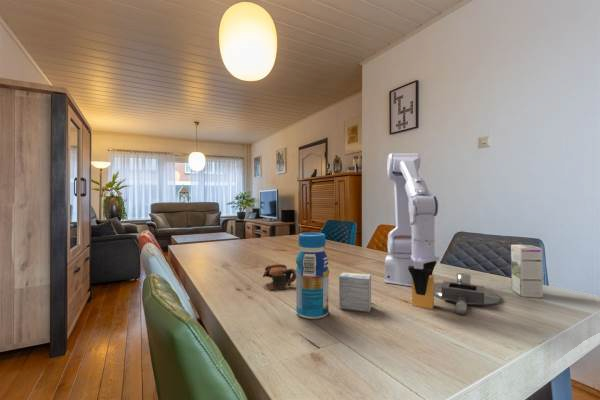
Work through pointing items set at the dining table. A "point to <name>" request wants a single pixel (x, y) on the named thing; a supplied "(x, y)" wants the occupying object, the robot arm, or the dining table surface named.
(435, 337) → the dining table surface
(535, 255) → the syrup box
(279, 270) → the pottery mug
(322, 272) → the beverage bottle
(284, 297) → the dining table surface
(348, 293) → the medicine box
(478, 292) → the rosette joint
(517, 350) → the dining table surface
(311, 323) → the dining table surface
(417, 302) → the orange rectangular block
